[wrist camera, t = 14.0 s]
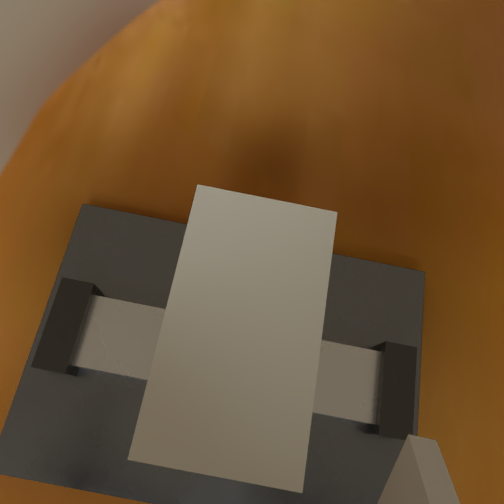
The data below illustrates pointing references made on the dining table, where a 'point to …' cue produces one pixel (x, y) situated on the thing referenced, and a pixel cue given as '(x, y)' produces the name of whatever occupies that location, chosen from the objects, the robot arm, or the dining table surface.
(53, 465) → the mounting plate
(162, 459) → the block
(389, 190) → the dining table surface
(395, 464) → the robot arm
